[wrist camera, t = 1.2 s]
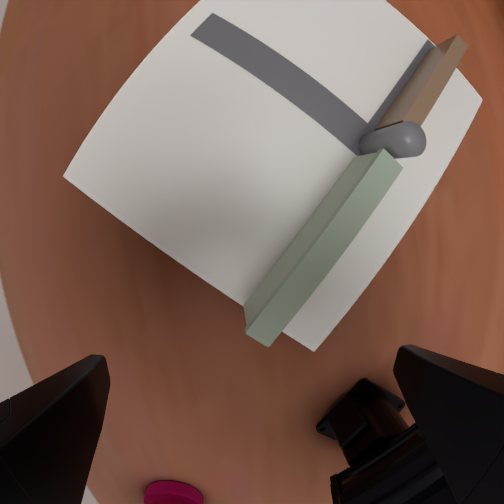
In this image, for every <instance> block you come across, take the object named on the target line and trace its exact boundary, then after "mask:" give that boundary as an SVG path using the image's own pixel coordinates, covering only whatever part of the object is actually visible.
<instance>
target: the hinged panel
mask: <svg viewBox="0 0 504 504" xmlns="http://www.w3.org/2000/svg"><path fill="white" fill-rule="evenodd" d="M402 169H403V167H402V166H401V165H400V164H399V163H398V162H397V161H396V160H395V159H394V158H393V157H392V156H391V155H390V154H389V153H388V152H387V151H386V150H385V149H384V148H383V149H379V150H378V151H377V153H371V154H366V155H361V156H356V157H355V158H354V159H353V161H352V162H351V164H350V165H349V166H348V168H347V169H346V171H345V172H344V173H343V175H342V176H341V177H340V179H339V180H338V181H337V183H336V184H335V186H334V187H333V188H332V190H331V191H330V192H329V194H328V195H327V196H326V198H325V199H324V201H323V202H322V203H321V205H320V206H319V207H318V209H317V210H316V211H315V213H314V214H313V215H312V217H311V218H310V219H309V221H308V222H307V223H306V225H305V226H304V227H303V229H302V230H301V231H300V233H299V234H298V235H297V237H296V238H295V239H294V241H293V242H292V243H291V245H290V246H289V247H288V249H287V250H286V251H285V253H284V254H283V255H282V257H281V258H280V259H279V261H278V262H277V263H276V264H275V266H274V267H273V268H272V270H271V271H270V272H269V274H268V275H267V276H266V278H265V279H264V280H263V281H262V283H261V284H260V285H259V287H258V288H257V289H256V291H255V292H254V293H253V294H252V296H251V297H250V298H249V300H248V301H247V302H246V303H245V305H244V306H243V307H244V313H245V319H246V327H245V328H244V329H245V334H247V335H249V336H250V337H252V338H253V339H255V340H257V341H258V342H260V343H262V344H263V345H265V346H266V347H269V346H270V345H271V344H272V343H273V342H274V340H275V339H276V338H277V337H278V336H279V334H280V333H281V332H282V331H283V330H284V328H285V327H286V326H287V325H288V323H289V322H290V321H291V320H292V319H293V317H294V316H295V315H296V314H297V312H298V311H299V310H300V309H301V307H302V306H303V305H304V304H305V302H306V301H307V300H308V299H309V297H310V296H311V295H312V294H313V292H314V291H315V290H316V288H317V287H318V286H319V285H320V283H321V282H322V281H323V279H324V278H325V277H326V276H327V274H328V273H329V272H330V270H331V269H332V268H333V266H334V265H335V264H336V262H337V261H338V260H339V258H340V257H341V256H342V254H343V253H344V252H345V250H346V249H347V248H348V246H349V245H350V244H351V242H352V241H353V239H354V238H355V237H356V235H357V234H358V233H359V231H360V230H361V228H362V227H363V226H364V224H365V223H366V221H367V220H368V219H369V217H370V216H371V214H372V213H373V212H374V210H375V209H376V207H377V206H378V204H379V203H380V202H381V200H382V199H383V197H384V196H385V194H386V193H387V191H388V190H389V188H390V187H391V186H392V184H393V183H394V181H395V180H396V178H397V177H398V175H399V174H400V172H401V171H402Z"/></svg>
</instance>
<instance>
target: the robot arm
mask: <svg viewBox="0 0 504 504" xmlns="http://www.w3.org/2000/svg"><path fill="white" fill-rule="evenodd" d="M393 372H394V376H395V378H396V380H397V383H398V385H399V387H400V390H401V392H402V395H403V397H404V399H405V402H406V404H407V406H408V409H409V411H410V412H411V414H412V416H413V418H414V420H415V422H416V423H414V424H413V425H412V426H410V427H409V426H408V425H407V424H406V422H405V421H404V419H403V418H402V417H401V415H400V414H399V412H400V411H401V410H402V409H403V408H404V406H405V402H404V401H403V400H402V399H400V398H399V397H397V396H395V395H393V394H392V393H390V392H388V391H387V390H385V389H383V388H382V387H380V386H378V385H376V384H375V383H373V382H371V381H370V380H368V379H362V380H361V381H360V382H359V383H358V384H357V385H356V386H355V387H354V388H353V389H352V390H351V391H350V392H349V393H348V395H347V396H346V397H345V398H344V399H343V400H342V401H341V402H340V403H339V404H338V405H337V406H336V407H335V408H334V409H333V410H332V411H331V412H330V413H329V414H328V415H327V416H326V417H325V418H324V419H323V420H322V421H321V422H320V423H319V424H318V425H317V426H316V429H317V432H318V433H320V434H323V435H325V436H328V437H330V438H332V439H335V440H337V441H338V444H339V446H340V447H341V449H342V451H343V453H344V456H345V458H346V460H347V462H348V465H350V467H349V468H347V469H345V470H344V471H342V472H340V473H338V474H335V475H333V476H331V477H330V481H331V485H330V486H331V493H332V500H333V504H504V375H503V374H500V373H496V372H493V371H490V370H487V369H484V368H481V367H478V366H475V365H471V364H468V363H465V362H462V361H459V360H456V359H453V358H450V357H447V356H444V355H441V354H438V353H435V352H432V351H429V350H426V349H423V348H420V347H417V346H414V345H404V346H401V347H400V348H399V349H398V352H397V356H396V360H395V364H394V368H393ZM364 384H365V385H364ZM363 385H364V386H363ZM109 389H110V376H109V371H108V367H107V362H106V359H105V357H104V356H103V355H94V354H92V355H89V356H87V357H85V358H84V359H82V360H80V361H78V362H76V363H74V364H72V365H71V366H69V367H67V368H65V369H63V370H61V371H59V372H58V373H56V374H54V375H52V376H50V377H48V378H46V379H44V380H43V381H41V382H39V383H37V384H35V385H33V386H31V387H30V388H27V389H26V390H24V391H22V392H20V393H18V394H16V395H14V396H12V397H10V400H9V399H6V400H5V401H3V402H1V403H0V504H81V502H82V498H83V494H84V490H85V486H86V482H87V479H88V475H89V471H90V468H91V464H92V461H93V457H94V454H95V450H96V447H97V443H98V440H99V437H100V433H101V430H102V426H103V421H104V416H105V410H106V405H107V399H108V394H109ZM322 427H323V428H322Z"/></svg>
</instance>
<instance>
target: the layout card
mask: <svg viewBox="0 0 504 504" xmlns="http://www.w3.org/2000/svg"><path fill="white" fill-rule="evenodd" d="M467 48H468V45H467V44H466V43H465V42H464V41H463V40H462V39H461V38H460V37H459V35H458V34H457V35H455V36H453V37H451V38H449V39H447V40H446V41H444V42H442V43H440V44H438V45H437V46H435V45H434V44H433V43H432V42H431V41H430V40H429V39H428V38H427V37H426V36H425V35H424V34H423V33H422V32H421V31H420V30H419V29H418V28H417V27H416V26H415V25H413V24H412V23H411V22H410V21H409V20H408V19H407V18H406V17H404V16H403V15H402V14H401V13H400V12H399V11H397V10H396V9H395V8H394V7H393V6H391V5H390V4H389V3H388V2H387V1H385V0H200V1H199V2H198V3H197V4H196V5H195V6H194V7H193V8H192V9H191V10H190V11H189V12H188V13H187V14H186V15H185V16H184V17H183V18H182V19H181V20H180V21H179V22H178V23H177V24H176V25H175V26H174V27H173V28H172V29H171V30H170V31H169V32H168V33H167V34H166V35H165V36H164V38H163V39H162V40H161V41H160V42H159V43H158V44H157V45H156V46H155V47H154V49H153V50H152V51H151V52H150V53H149V54H148V55H147V57H146V58H145V59H144V60H143V61H142V63H141V64H140V65H139V66H138V67H137V69H136V70H135V71H134V72H133V73H132V75H131V76H130V77H129V78H128V80H127V81H126V82H125V84H124V85H123V86H122V87H121V89H120V90H119V91H118V93H117V94H116V95H115V97H114V98H113V99H112V101H111V102H110V104H109V105H108V106H107V108H106V109H105V111H104V112H103V113H102V115H101V116H100V118H99V119H98V121H97V122H96V124H95V125H94V127H93V128H92V130H91V131H90V133H89V134H88V136H87V137H86V139H85V140H84V142H83V143H82V145H81V147H80V148H79V150H78V151H77V153H76V155H75V156H74V158H73V160H72V161H71V163H70V165H69V167H68V168H67V170H66V172H65V173H64V175H63V177H64V178H66V179H67V180H68V181H69V182H71V183H72V184H73V185H75V186H76V187H77V188H78V189H80V190H81V191H82V192H84V193H85V194H86V195H87V196H89V197H90V198H91V199H93V200H94V201H95V202H97V203H98V204H99V205H101V206H102V207H103V208H105V209H106V210H107V211H109V212H110V213H111V214H113V215H114V216H115V217H117V218H118V219H119V220H121V221H122V222H123V223H125V224H126V225H127V226H129V227H130V228H131V229H133V230H134V231H136V232H137V233H138V234H140V235H141V236H142V237H144V238H145V239H147V240H148V241H149V242H151V243H152V244H153V245H155V246H156V247H158V248H159V249H160V250H162V251H163V252H165V253H166V254H167V255H169V256H170V257H172V258H173V259H175V260H176V261H177V262H179V263H180V264H182V265H183V266H184V267H186V268H187V269H189V270H190V271H192V272H193V273H195V274H196V275H197V276H199V277H200V278H202V279H203V280H205V281H206V282H208V283H209V284H211V285H212V286H214V287H215V288H216V289H218V290H219V291H221V292H222V293H224V294H225V295H227V296H228V297H230V298H231V299H233V300H234V301H236V302H237V303H239V304H240V305H242V306H244V305H245V303H246V302H247V301H248V300H249V298H250V297H251V296H252V294H253V293H254V292H255V291H256V289H257V288H258V287H259V285H260V284H261V283H262V281H263V280H264V279H265V278H266V276H267V275H268V274H269V272H270V271H271V270H272V268H273V267H274V266H275V264H276V263H277V262H278V261H279V259H280V258H281V257H282V255H283V254H284V253H285V251H286V250H287V249H288V247H289V246H290V245H291V243H292V242H293V241H294V239H295V238H296V237H297V235H298V234H299V233H300V231H301V230H302V229H303V227H304V226H305V225H306V223H307V222H308V221H309V219H310V218H311V217H312V215H313V214H314V213H315V211H316V210H317V209H318V207H319V206H320V205H321V203H322V202H323V201H324V199H325V198H326V196H327V195H328V194H329V192H330V191H331V190H332V188H333V187H334V186H335V184H336V183H337V181H338V180H339V179H340V177H341V176H342V175H343V173H344V172H345V171H346V169H347V168H348V166H349V165H350V164H351V162H352V161H353V159H354V158H355V157H356V156H361V155H366V154H371V153H377V151H378V150H379V149H383V148H384V149H385V150H386V151H387V152H388V153H389V154H390V155H391V156H392V157H393V158H394V159H395V160H396V161H397V162H398V163H399V164H400V165H401V166H402V167H403V169H402V171H401V172H400V174H399V175H398V177H397V178H396V180H395V181H394V183H393V184H392V186H391V187H390V188H389V190H388V191H387V193H386V194H385V196H384V197H383V199H382V200H381V202H380V203H379V204H378V206H377V207H376V209H375V210H374V212H373V213H372V214H371V216H370V217H369V219H368V220H367V221H366V223H365V224H364V226H363V227H362V228H361V230H360V231H359V233H358V234H357V235H356V237H355V238H354V239H353V241H352V242H351V244H350V245H349V246H348V248H347V249H346V250H345V252H344V253H343V254H342V256H341V257H340V258H339V260H338V261H337V262H336V264H335V265H334V266H333V268H332V269H331V270H330V272H329V273H328V274H327V276H326V277H325V278H324V279H323V281H322V282H321V283H320V285H319V286H318V287H317V288H316V290H315V291H314V292H313V294H312V295H311V296H310V297H309V299H308V300H307V301H306V302H305V304H304V305H303V306H302V307H301V309H300V310H299V311H298V312H297V314H296V315H295V316H294V317H293V319H292V320H291V321H290V322H289V323H288V325H287V326H286V327H285V328H284V330H283V331H282V332H283V333H285V334H287V335H288V336H290V337H291V338H293V339H294V340H296V341H298V342H299V343H301V344H302V345H304V346H306V347H307V348H309V349H310V350H312V351H315V350H316V349H317V348H318V347H319V346H320V344H321V343H322V342H323V341H324V340H325V339H326V337H327V336H328V335H329V334H330V333H331V331H332V330H333V329H334V328H335V327H336V325H337V324H338V323H339V322H340V320H341V319H342V318H343V317H344V315H345V314H346V313H347V312H348V310H349V309H350V308H351V307H352V305H353V304H354V303H355V302H356V300H357V299H358V298H359V296H360V295H361V294H362V293H363V291H364V290H365V289H366V287H367V286H368V285H369V283H370V282H371V281H372V279H373V278H374V277H375V275H376V274H377V273H378V271H379V270H380V268H381V267H382V266H383V264H384V263H385V262H386V260H387V259H388V257H389V256H390V255H391V253H392V252H393V250H394V249H395V247H396V246H397V245H398V243H399V242H400V240H401V239H402V237H403V236H404V234H405V233H406V231H407V230H408V228H409V227H410V225H411V224H412V222H413V221H414V219H415V218H416V216H417V215H418V213H419V212H420V210H421V209H422V207H423V205H424V204H425V202H426V201H427V199H428V198H429V196H430V194H431V193H432V191H433V190H434V188H435V186H436V185H437V183H438V181H439V180H440V178H441V176H442V175H443V173H444V171H445V170H446V168H447V166H448V164H449V163H450V161H451V159H452V157H453V156H454V154H455V152H456V150H457V148H458V147H459V145H460V143H461V141H462V139H463V137H464V136H465V134H466V132H467V130H468V128H469V126H470V124H471V122H472V120H473V118H474V116H475V114H476V112H477V110H478V108H479V106H480V104H481V102H482V100H483V99H482V98H481V97H480V95H479V94H478V93H477V92H476V90H475V89H474V88H473V87H472V85H471V84H470V83H469V82H468V81H467V79H466V78H465V77H464V76H463V75H462V74H461V72H460V71H459V70H458V69H457V68H456V67H457V66H458V64H459V62H460V60H461V58H462V57H463V55H464V53H465V51H466V50H467Z"/></svg>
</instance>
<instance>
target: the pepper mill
mask: <svg viewBox="0 0 504 504" xmlns="http://www.w3.org/2000/svg"><path fill="white" fill-rule="evenodd" d="M144 503H145V504H203V496H202V494H201V493H200V492H199V491H198V490H197V489H195V488H194V487H192V486H190V485H187V484H185V483H181V482H177V481H168V480H166V481H157V482H154V483H152V484H150V485H149V486H148V487H147V488H146V492H145V497H144Z"/></svg>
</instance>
